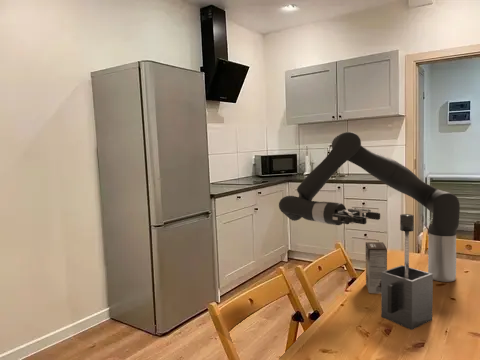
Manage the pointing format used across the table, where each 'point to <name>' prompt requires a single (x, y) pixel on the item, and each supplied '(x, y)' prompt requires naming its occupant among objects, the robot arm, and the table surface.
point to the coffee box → (375, 265)
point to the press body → (406, 297)
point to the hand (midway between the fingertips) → (373, 218)
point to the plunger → (406, 238)
